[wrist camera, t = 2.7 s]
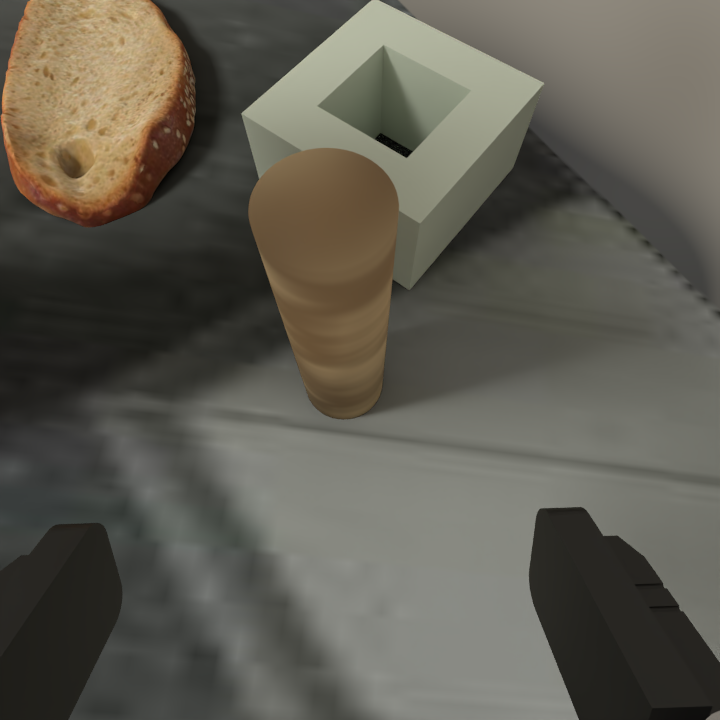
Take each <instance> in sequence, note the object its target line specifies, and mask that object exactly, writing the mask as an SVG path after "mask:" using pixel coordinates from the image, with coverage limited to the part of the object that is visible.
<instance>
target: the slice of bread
mask: <svg viewBox="0 0 720 720" xmlns="http://www.w3.org/2000/svg"><path fill="white" fill-rule="evenodd" d="M8 68H9V69H8V71H7V72H6V82H5V85H4V90H3V98H2V111H3V113H2V115H1V123H2V129H3V135H4V144H5V148H6V152H7V155H8V160H9V165H10V170H11V173H12V176H13V179H14V181H15V184H16V185H17V187H18V189H19V191H20V192H21V193H22V194H23V195H24V196H25V197H26V198H28V200H30V201H31V202H32V203H34V204H35V205H36V206H38V207H40V208H41V209H43V210H44V211H46V212H48V213H49V214H51V215H54V216H57V217H60V218H63V219H67V220H70V221H72V222H74V223H77V224H79V225H81V226H83V227H96V226H101V225H104V224H107V223H109V222H111V221H114V220H117V219H119V218H122V217H124V216H127V215H129V214H131V213H134V212H136V211H138V210H140V209H141V208H143V207H144V206H146V205H147V204H148V203H149V202H150V200H151V198H152V196H153V193H154V191H155V190H156V188H157V187H158V185H159V184H160V182H161V181H162V179H163V178H164V177H165V175H166V174H167V173H168V171H169V170H170V169H171V168H173V167H174V166H175V165H176V164H177V162H178V161H179V160H180V158H181V157H182V155H183V153H184V152H185V150H186V147H187V146H188V143H189V141H190V138H191V135H192V133H193V130H194V118H195V113H196V104H195V97H196V91H195V77H194V74H193V71H192V67H191V62H190V59H189V56H188V54H187V52H186V49H185V47H184V45H183V43H182V41H181V40H180V38H179V37H178V36H177V35H176V34H175V33H174V31H173V30H172V29H171V27H170V26H169V24H168V23H167V21H166V18H165V16H164V15H163V13H162V12H161V10H160V9H159V8H158V7H157V6H156V5H155V4H154V3H153V2H152V1H151V0H30V1H29V2H27V6H26V9H25V11H24V17H22V19H21V21H20V22H19V28H18V31H17V33H16V36H15V42H14V45H13V47H12V50H11V56H10V59H9V62H8Z"/></svg>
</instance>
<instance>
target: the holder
mask: <svg viewBox="0 0 720 720" xmlns="http://www.w3.org/2000/svg"><path fill="white" fill-rule="evenodd" d="M543 86H544V83H543V82H540V81H539V80H537V79H535V78H533V77H531V76H529V75H526V74H525V73H523V72H520V71H519V70H517V69H515V68H513V67H511V66H509V65H507V64H505V63H503V62H501V61H499V60H497V59H495V58H493V57H491V56H488V55H487V54H485V53H483V52H481V51H479V50H477V49H475V48H473V47H471V46H469V45H467V44H465V43H463V42H461V41H459V40H457V39H455V38H453V37H451V36H449V35H447V34H445V33H442V32H441V31H439V30H437V29H434V28H433V27H431V26H428V25H427V24H425V23H423V22H421V21H419V20H417V19H415V18H413V17H411V16H409V15H407V14H405V13H403V12H401V11H399V10H397V9H395V8H393V7H391V6H389V5H387V4H385V3H383V2H381V1H379V0H372V1H371V2H369V3H368V4H367V5H366V6H365V7H364V8H362V9H361V10H360V11H359V12H358V13H357V14H356V15H354V16H353V17H352V18H351V19H350V20H349V21H347V22H346V23H345V24H344V25H343V26H342V27H341V28H339V29H338V30H337V31H336V32H335V33H334V34H333V35H331V36H330V37H329V38H328V39H327V40H326V41H324V42H323V43H322V44H321V45H320V46H319V47H318V48H316V49H315V50H314V51H313V52H312V53H311V54H309V55H308V56H307V57H306V58H305V59H304V60H303V61H301V62H300V63H299V64H298V65H297V66H296V67H294V68H293V69H292V70H291V71H290V72H289V73H288V74H286V75H285V76H284V77H283V78H282V79H281V80H280V81H278V82H277V83H276V84H275V85H274V86H273V87H271V88H270V89H269V90H268V91H267V92H266V93H265V94H263V95H262V96H261V97H260V98H259V99H258V100H256V101H255V102H254V103H253V104H252V105H251V106H250V107H248V108H247V109H246V110H245V111H244V112H243V113H242V117H243V121H244V125H245V128H246V132H247V136H248V139H249V143H250V146H251V150H252V154H253V157H254V161H255V165H256V168H257V172H258V176H259V179H260V178H261V176H262V175H263V174H264V173H265V172H266V171H267V170H268V169H269V168H270V167H272V166H273V165H274V164H275V163H277V162H279V161H280V160H282V159H284V158H286V157H288V156H290V155H292V154H295V153H297V152H301V151H305V150H309V149H316V148H337V149H344V150H348V151H352V152H355V153H357V154H360V155H362V156H364V157H366V158H368V159H370V160H371V161H373V162H374V163H376V164H377V165H378V166H379V167H381V168H382V169H383V170H384V171H385V173H386V174H387V175H388V176H389V178H390V179H391V181H392V182H393V184H394V186H395V189H396V191H397V195H398V200H399V215H398V226H397V237H396V247H395V258H394V268H393V280H394V281H396V282H397V283H399V284H401V285H402V286H404V287H405V288H407V289H408V290H410V289H411V288H412V287H413V286H414V284H415V283H416V282H417V281H418V280H419V279H420V277H421V276H422V275H423V274H424V273H425V271H426V270H427V269H428V268H429V267H430V266H431V264H432V263H433V262H434V261H435V260H436V258H437V257H438V256H439V255H440V254H441V253H442V251H443V250H444V249H445V248H446V247H447V245H448V244H449V243H450V242H451V241H452V240H453V238H454V237H455V236H456V235H457V234H458V232H459V231H460V230H461V229H462V228H463V227H464V225H465V224H466V223H467V222H468V221H469V219H470V218H471V217H472V216H473V215H474V214H475V212H476V211H477V210H478V209H479V208H480V206H481V205H482V204H483V203H484V202H485V201H486V199H487V198H488V197H489V196H490V195H491V193H492V192H493V191H494V190H495V189H496V187H497V186H498V185H499V184H500V183H501V182H502V180H503V179H504V178H505V177H506V176H507V174H508V173H509V172H510V171H511V170H512V169H513V167H514V164H515V161H516V158H517V156H518V153H519V150H520V148H521V145H522V142H523V140H524V137H525V134H526V132H527V129H528V126H529V123H530V121H531V118H532V115H533V113H534V110H535V107H536V105H537V102H538V99H539V96H540V93H541V91H542V88H543ZM380 133H382V134H383V135H385V136H387V137H389V138H390V139H392V140H394V141H396V142H397V143H399V144H401V145H402V146H404V147H406V148H408V149H409V150H411V151H413V152H412V153H411V154H410V156H409V157H408V158H405V157H404V156H402V155H400V154H399V153H397V152H395V151H393V150H392V149H390V148H388V147H387V146H385V145H383V144H381V143H380V142H378V141H376V140H375V138H376V137H377V136H378V135H379V134H380Z"/></svg>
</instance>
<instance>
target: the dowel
mask: <svg viewBox="0 0 720 720" xmlns="http://www.w3.org/2000/svg"><path fill="white" fill-rule="evenodd" d="M248 214H249V222H250V225H251V229H252V232H253V235H254V238H255V240H256V243H257V246H258V249H259V252H260V255H261V258H262V261H263V264H264V267H265V270H266V273H267V276H268V279H269V282H270V285H271V288H272V291H273V294H274V297H275V300H276V303H277V306H278V308H279V311H280V314H281V317H282V320H283V323H284V326H285V329H286V332H287V335H288V338H289V341H290V344H291V347H292V350H293V353H294V356H295V359H296V362H297V365H298V368H299V371H300V374H301V377H302V379H303V382H304V385H305V388H306V391H307V394H308V397H309V399H310V401H311V402H312V404H313V405H314V406H315V408H316V409H318V410H319V411H320V412H321V413H323V414H325V415H327V416H329V417H332V418H336V419H351V418H355V417H358V416H361V415H363V414H364V413H366V412H367V411H369V410H370V409H371V408H372V407H373V406H374V405H375V403H376V402H377V400H378V399H379V397H380V394H381V390H382V384H383V373H384V363H385V352H386V342H387V331H388V321H389V310H390V300H391V289H392V279H393V268H394V258H395V247H396V237H397V226H398V215H399V200H398V195H397V191H396V189H395V186H394V184H393V182H392V181H391V179H390V178H389V176H388V175H387V174H386V173H385V171H384V170H383V169H382V168H381V167H379V166H378V165H377V164H376V163H374V162H373V161H371V160H370V159H368V158H366V157H364V156H362V155H360V154H357V153H355V152H352V151H348V150H344V149H337V148H316V149H309V150H305V151H301V152H297V153H295V154H292V155H290V156H288V157H286V158H284V159H282V160H280V161H279V162H277V163H275V164H274V165H273V166H272V167H270V168H269V169H268V170H267V171H266V172H265V173H264V174H263V175H262V176H261V178H260V179H259V181H258V182H257V183H256V185H255V187H254V189H253V191H252V194H251V197H250V201H249V211H248Z"/></svg>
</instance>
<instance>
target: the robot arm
mask: <svg viewBox="0 0 720 720" xmlns="http://www.w3.org/2000/svg"><path fill="white" fill-rule="evenodd" d="M529 583H530V591H531V596H532V600H533V604H534V607H535V610H536V612H537V615H538V617H539V620H540V622H541V625H542V627H543V630H544V632H545V635H546V638H547V640H548V643H549V645H550V648H551V650H552V653H553V655H554V658H555V660H556V663H557V665H558V668H559V670H560V673H561V675H562V678H563V680H564V683H565V685H566V688H567V690H568V693H569V695H570V698H571V701H572V703H573V706H574V708H575V711H576V713H577V716H578V718H579V720H720V662H719V661H718V660H717V658H716V657H715V655H714V654H713V653H712V651H711V650H710V648H709V647H708V646H707V644H706V643H705V641H704V640H703V639H702V637H701V636H700V634H699V633H698V632H697V630H696V629H695V627H694V626H693V624H692V623H691V622H690V620H689V619H688V617H687V616H686V615H685V613H684V612H683V611H680V609H679V605H678V603H677V602H676V601H675V599H674V598H673V596H672V595H671V594H670V592H669V591H668V589H664V587H663V582H662V581H661V580H660V578H659V577H658V575H657V574H656V573H655V571H654V570H653V568H652V567H651V565H650V564H649V563H648V561H647V560H646V558H645V557H644V556H642V555H641V554H640V553H639V552H637V551H636V550H635V549H634V548H632V547H631V546H630V545H629V544H627V543H626V542H625V541H623V540H622V539H621V538H620V537H618V536H603V535H602V533H601V532H600V530H599V529H598V527H597V526H596V524H595V523H594V521H593V519H592V518H591V516H590V515H589V513H588V512H587V511H586V510H585V509H584V508H582V507H571V508H543V509H540V510H539V511H538V513H537V516H536V523H535V531H534V538H533V546H532V554H531V561H530V569H529ZM121 604H122V584H121V580H120V577H119V573H118V570H117V566H116V563H115V559H114V556H113V552H112V549H111V545H110V542H109V539H108V535H107V532H106V529H105V528H104V526H103V525H102V524H100V523H85V524H59V525H55V526H53V527H52V528H50V529H49V531H48V532H47V533H46V534H45V535H44V537H43V538H42V539H41V540H40V542H39V543H38V544H37V546H36V547H35V548H34V549H33V551H32V552H31V553H30V554H29V555H22V556H20V557H18V558H17V559H16V560H15V561H13V562H12V563H11V564H9V565H8V566H7V567H5V568H4V569H3V570H1V571H0V720H68V719H69V717H70V715H71V713H72V711H73V709H74V707H75V705H76V703H77V701H78V699H79V697H80V695H81V693H82V691H83V689H84V687H85V685H86V682H87V680H88V678H89V676H90V674H91V672H92V670H93V668H94V666H95V664H96V662H97V660H98V658H99V656H100V654H101V652H102V650H103V648H104V646H105V644H106V642H107V640H108V638H109V636H110V634H111V632H112V630H113V628H114V626H115V624H116V621H117V619H118V616H119V613H120V609H121Z"/></svg>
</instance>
